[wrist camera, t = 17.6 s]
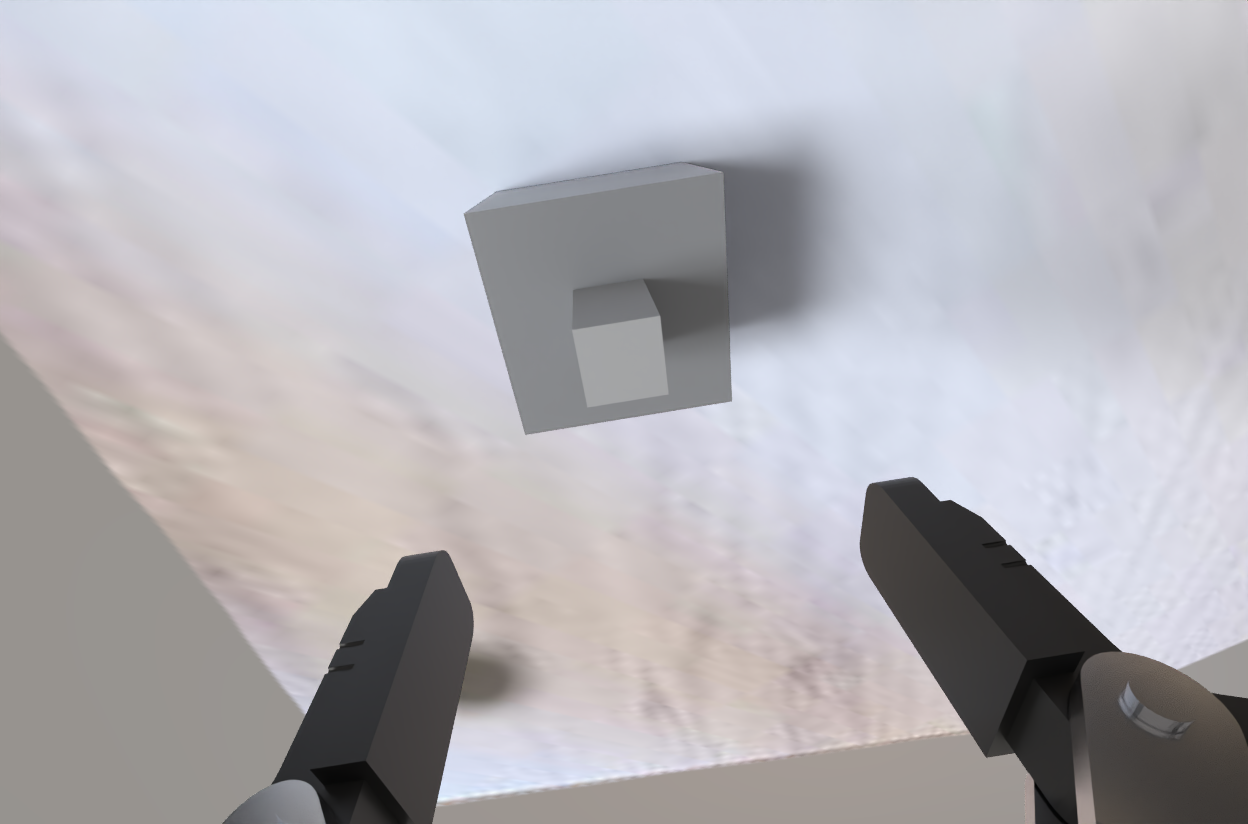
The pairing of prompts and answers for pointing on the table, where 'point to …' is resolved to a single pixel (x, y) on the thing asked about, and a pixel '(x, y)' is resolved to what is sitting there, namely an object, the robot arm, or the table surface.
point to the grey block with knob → (609, 293)
